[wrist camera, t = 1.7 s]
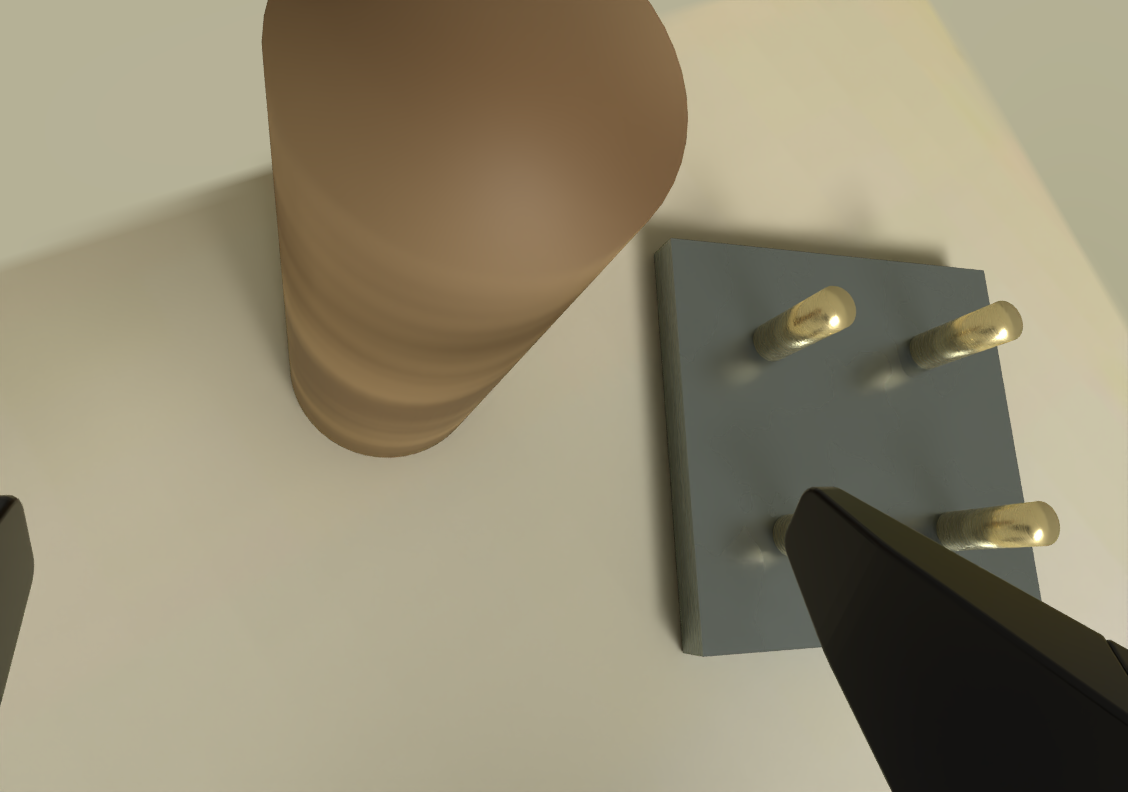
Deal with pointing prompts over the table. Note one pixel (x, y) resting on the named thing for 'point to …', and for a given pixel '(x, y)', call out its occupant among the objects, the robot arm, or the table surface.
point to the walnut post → (453, 190)
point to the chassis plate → (829, 423)
